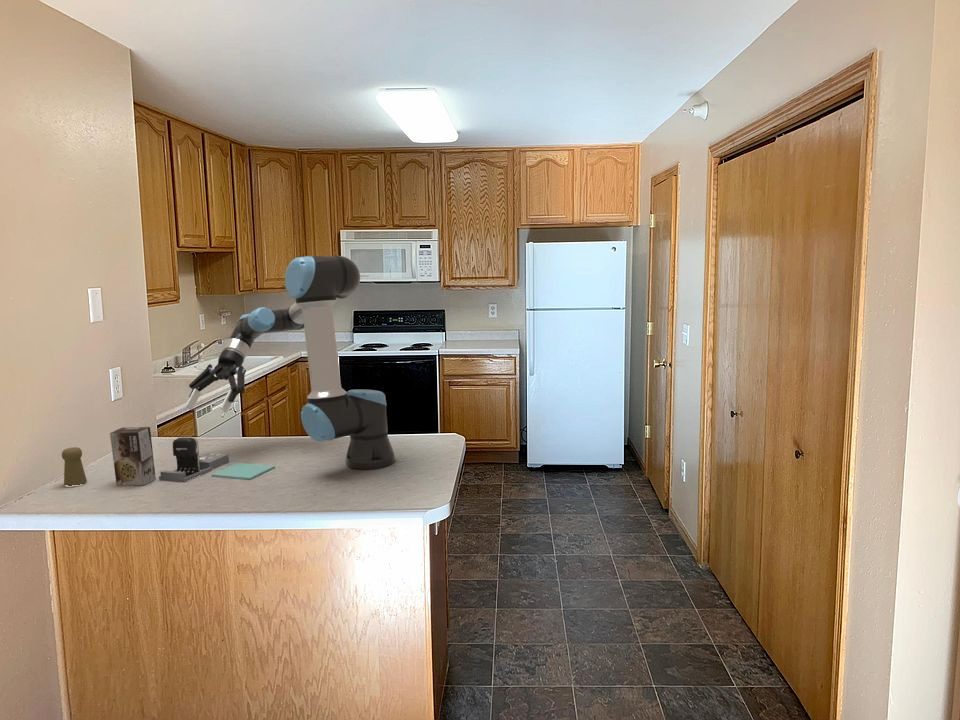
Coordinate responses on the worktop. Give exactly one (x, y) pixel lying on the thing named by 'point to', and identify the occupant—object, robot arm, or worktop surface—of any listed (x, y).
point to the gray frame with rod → (206, 463)
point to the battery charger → (186, 455)
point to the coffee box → (133, 456)
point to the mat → (243, 471)
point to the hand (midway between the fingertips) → (205, 409)
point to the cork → (73, 467)
